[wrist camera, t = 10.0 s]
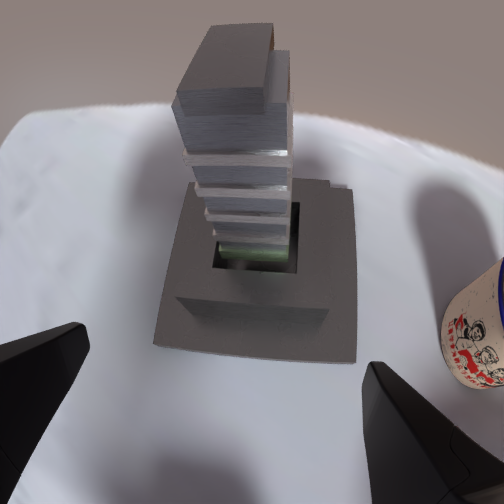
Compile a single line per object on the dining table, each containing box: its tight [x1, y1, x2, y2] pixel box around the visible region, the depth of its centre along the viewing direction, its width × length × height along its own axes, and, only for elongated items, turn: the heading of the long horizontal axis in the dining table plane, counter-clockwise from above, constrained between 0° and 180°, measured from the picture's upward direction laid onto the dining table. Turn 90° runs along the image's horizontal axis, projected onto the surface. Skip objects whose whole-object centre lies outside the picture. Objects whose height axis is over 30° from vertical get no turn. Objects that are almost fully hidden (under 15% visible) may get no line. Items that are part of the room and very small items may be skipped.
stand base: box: [153, 178, 357, 364], centre depth 21 cm, size 14×14×6 cm
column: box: [171, 23, 294, 263], centre depth 14 cm, size 5×4×12 cm
